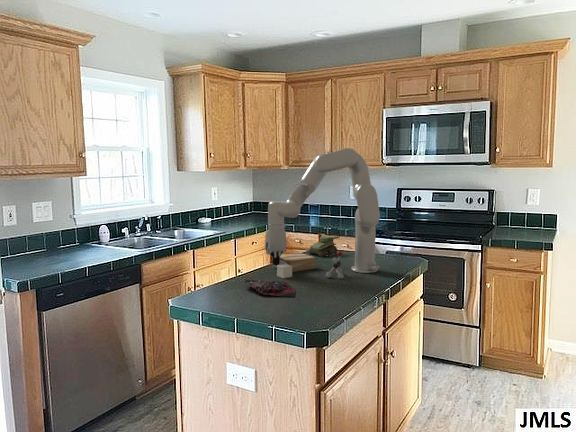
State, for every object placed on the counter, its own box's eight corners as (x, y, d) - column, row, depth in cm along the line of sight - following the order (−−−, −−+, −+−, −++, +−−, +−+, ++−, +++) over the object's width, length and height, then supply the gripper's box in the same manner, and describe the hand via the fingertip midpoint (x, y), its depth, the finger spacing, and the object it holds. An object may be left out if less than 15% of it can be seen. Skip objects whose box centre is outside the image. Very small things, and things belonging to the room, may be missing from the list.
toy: (344, 253, 274) (344, 236, 273) (320, 257, 263) (321, 239, 262) (332, 250, 282) (332, 233, 281) (308, 254, 270) (308, 237, 269)
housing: (315, 268, 238) (315, 257, 237) (290, 272, 229) (290, 261, 229) (299, 262, 249) (299, 252, 248) (274, 266, 241) (274, 255, 240)
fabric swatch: (246, 283, 209) (247, 276, 209) (295, 286, 209) (296, 278, 208) (240, 296, 190) (240, 287, 189) (294, 298, 189) (294, 290, 189)
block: (292, 276, 221) (292, 265, 220) (283, 278, 218) (283, 267, 217) (286, 274, 225) (286, 263, 224) (277, 275, 222) (277, 265, 222)
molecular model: (324, 278, 219) (325, 255, 218) (331, 272, 230) (331, 250, 229) (342, 279, 216) (343, 256, 215) (348, 273, 228) (348, 251, 226)
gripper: (284, 225, 238) (284, 261, 240) (258, 227, 229) (258, 265, 232) (293, 227, 232) (293, 264, 234) (266, 229, 223) (266, 268, 226)
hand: (276, 265), depth 233 cm, fingers closed
